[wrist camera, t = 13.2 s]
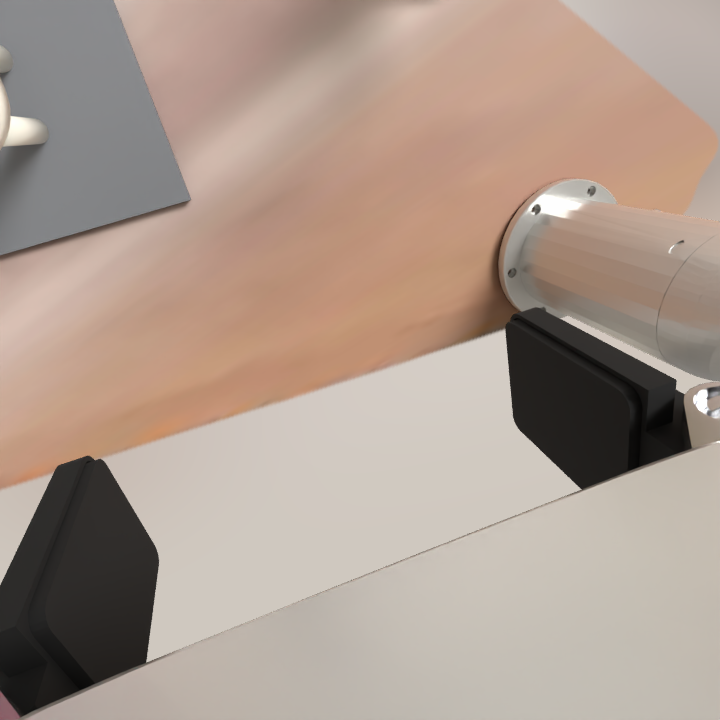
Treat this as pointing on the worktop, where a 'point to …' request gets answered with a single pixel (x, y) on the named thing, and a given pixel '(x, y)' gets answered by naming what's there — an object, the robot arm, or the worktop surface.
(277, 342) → the worktop surface
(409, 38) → the worktop surface
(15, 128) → the stool
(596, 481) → the robot arm
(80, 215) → the mat
